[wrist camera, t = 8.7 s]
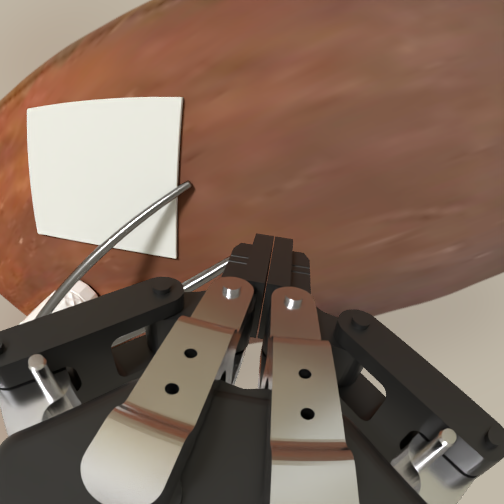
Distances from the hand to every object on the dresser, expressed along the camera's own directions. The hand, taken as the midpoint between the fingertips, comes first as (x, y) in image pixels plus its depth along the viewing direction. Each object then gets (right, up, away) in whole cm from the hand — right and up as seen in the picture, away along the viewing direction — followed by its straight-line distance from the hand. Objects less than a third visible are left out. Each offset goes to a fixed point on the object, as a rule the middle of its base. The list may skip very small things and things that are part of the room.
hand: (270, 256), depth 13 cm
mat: (-18, +8, +15) cm, 25 cm away
